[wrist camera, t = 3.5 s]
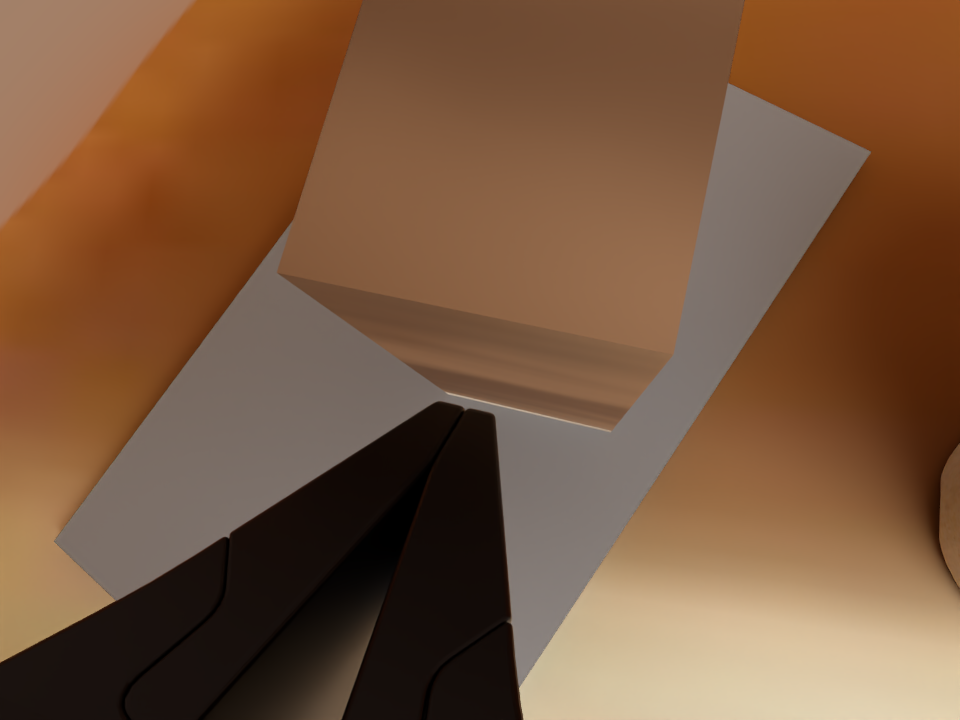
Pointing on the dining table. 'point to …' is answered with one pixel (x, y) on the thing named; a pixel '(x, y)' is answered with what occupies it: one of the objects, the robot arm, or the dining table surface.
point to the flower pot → (951, 514)
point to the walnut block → (518, 192)
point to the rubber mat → (403, 393)
